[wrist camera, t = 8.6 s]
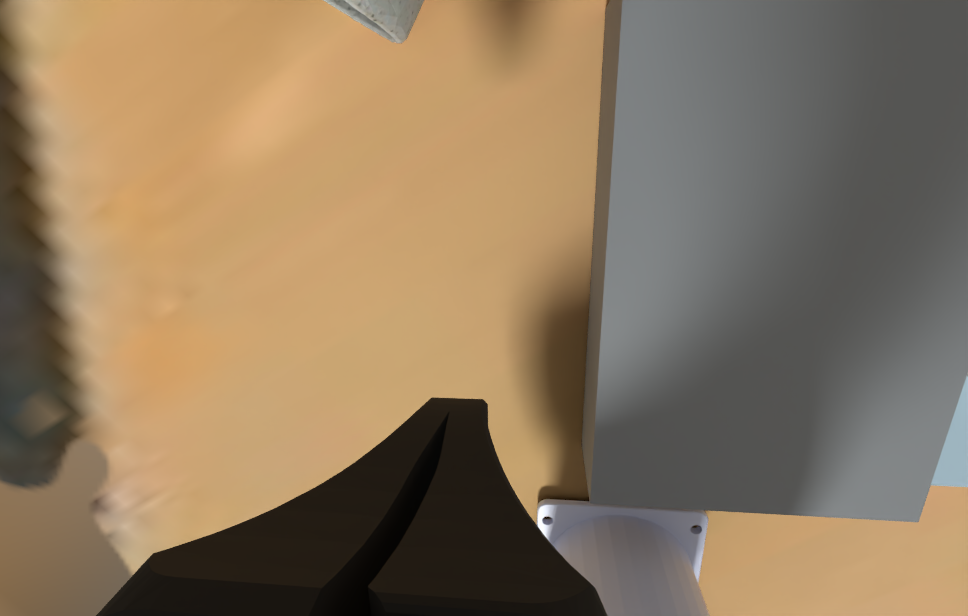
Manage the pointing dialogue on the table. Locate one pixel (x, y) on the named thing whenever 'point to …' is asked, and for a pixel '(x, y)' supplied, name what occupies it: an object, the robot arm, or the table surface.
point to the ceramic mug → (382, 15)
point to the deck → (778, 255)
